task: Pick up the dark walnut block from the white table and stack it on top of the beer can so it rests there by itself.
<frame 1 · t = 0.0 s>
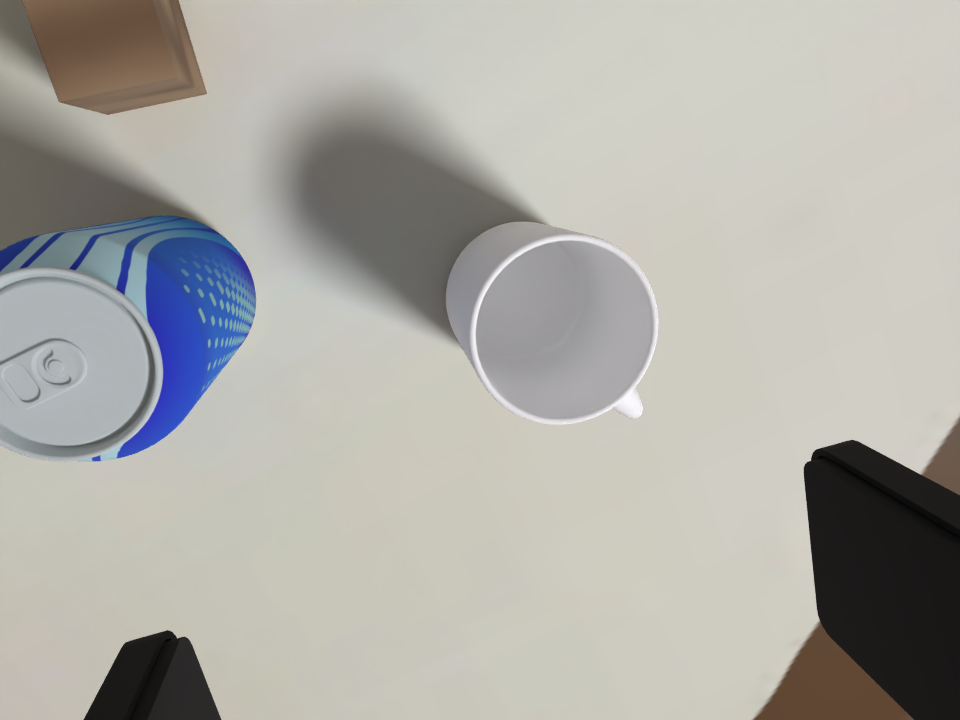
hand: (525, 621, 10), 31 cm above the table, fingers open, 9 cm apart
walnut block: (141, 52, 35), on the table
mug: (534, 314, 42), on the table
beer can: (180, 292, 38), on the table
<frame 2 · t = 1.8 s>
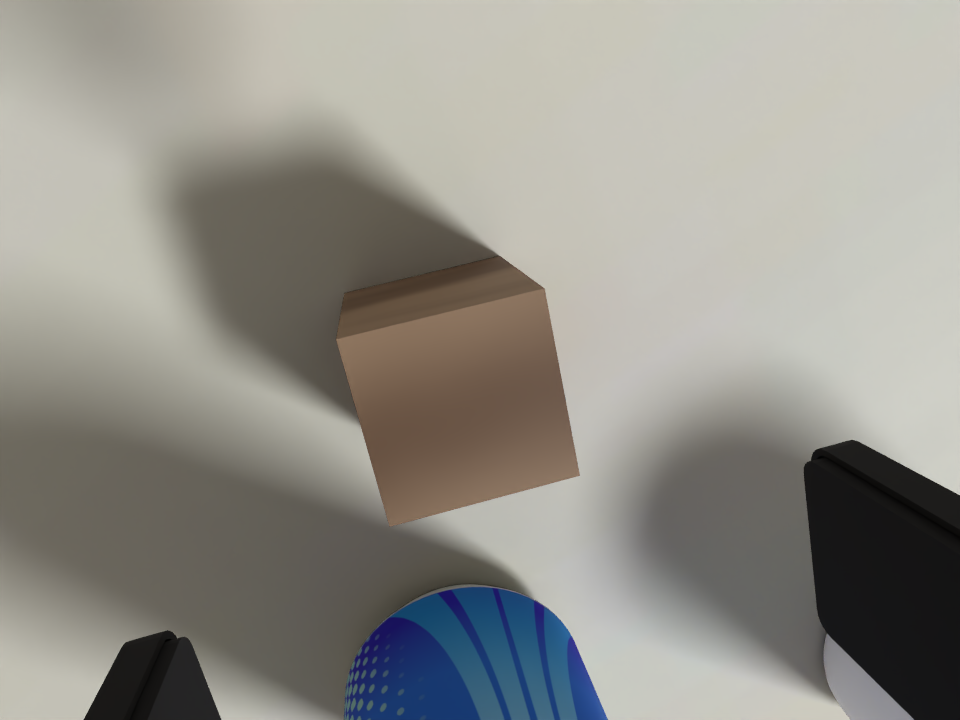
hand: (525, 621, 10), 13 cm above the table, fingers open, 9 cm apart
walnut block: (440, 348, 23), on the table
mug: (927, 650, 30), on the table
beer can: (460, 661, 26), on the table
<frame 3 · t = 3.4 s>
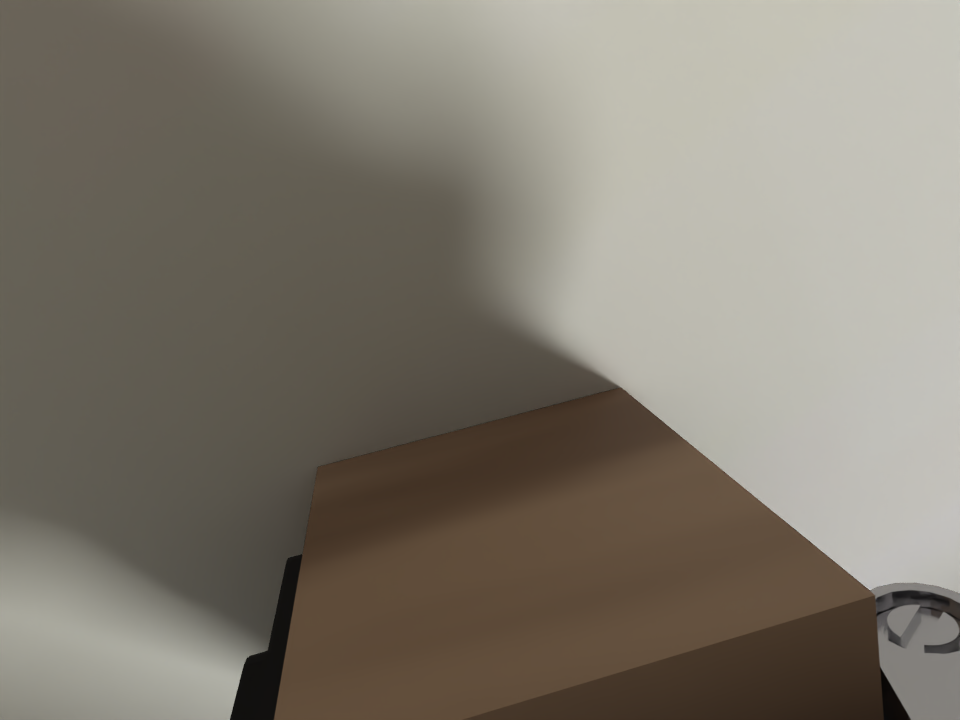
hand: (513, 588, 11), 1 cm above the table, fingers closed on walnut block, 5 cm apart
walnut block: (504, 561, 12), on the table, touching gripper
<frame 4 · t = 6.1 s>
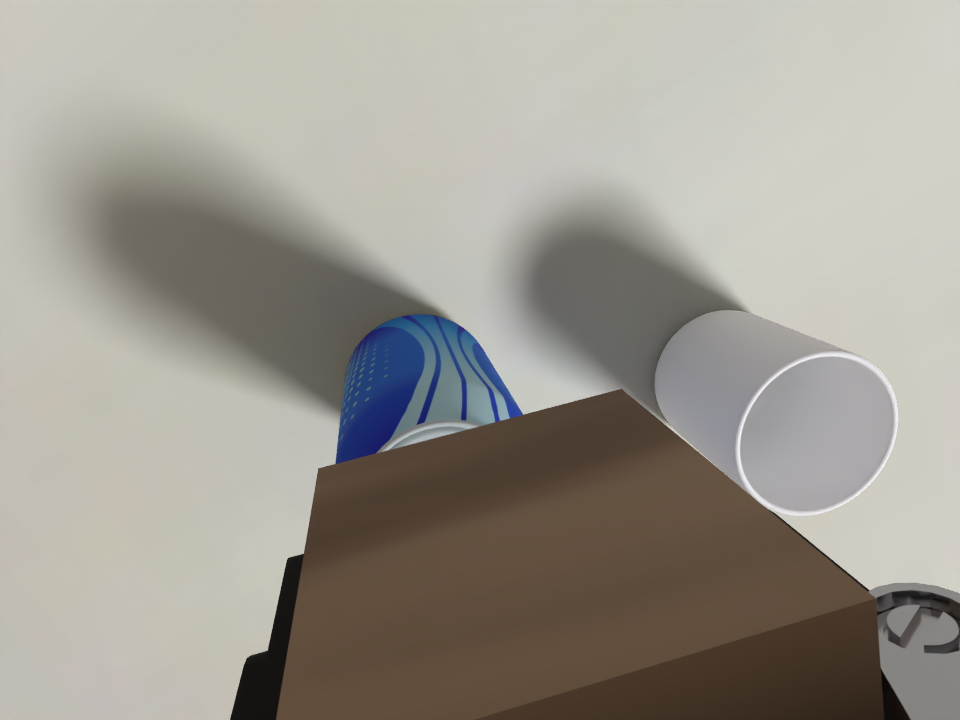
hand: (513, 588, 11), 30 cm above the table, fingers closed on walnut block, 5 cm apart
walnut block: (504, 562, 12), point 29 cm above the table, touching gripper
mug: (728, 390, 45), on the table
beer can: (417, 378, 42), on the table
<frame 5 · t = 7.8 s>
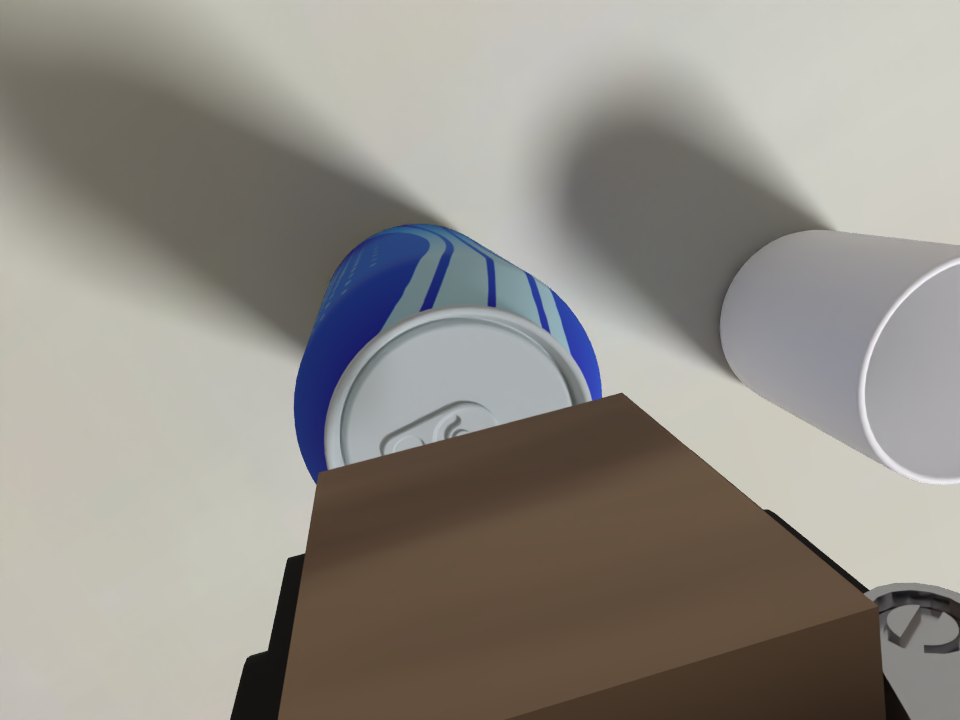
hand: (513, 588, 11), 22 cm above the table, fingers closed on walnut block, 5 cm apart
walnut block: (505, 566, 12), point 21 cm above the table, touching gripper
mug: (810, 338, 36), on the table
beer can: (417, 314, 32), on the table
when the fingers open (18 cm above the table, at t = 8.9 s): walnut block drops 1 cm, resting on beer can.
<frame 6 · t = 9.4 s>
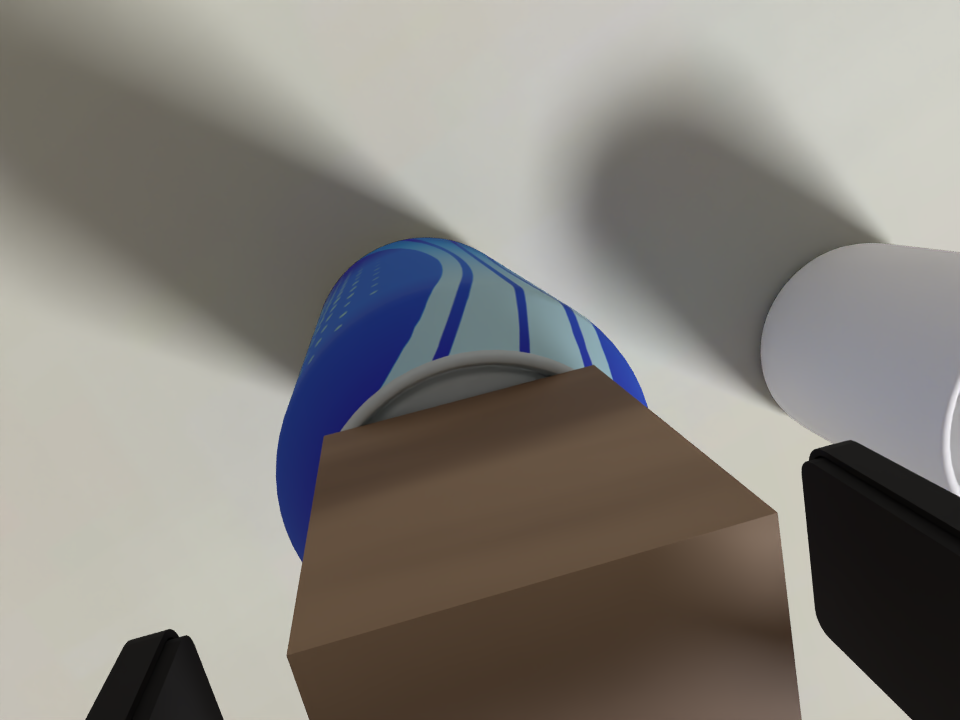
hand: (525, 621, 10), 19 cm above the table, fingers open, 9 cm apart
walnut block: (491, 521, 13), point 16 cm above the table, touching beer can
mug: (859, 362, 32), on the table
beer can: (423, 338, 29), on the table, touching walnut block
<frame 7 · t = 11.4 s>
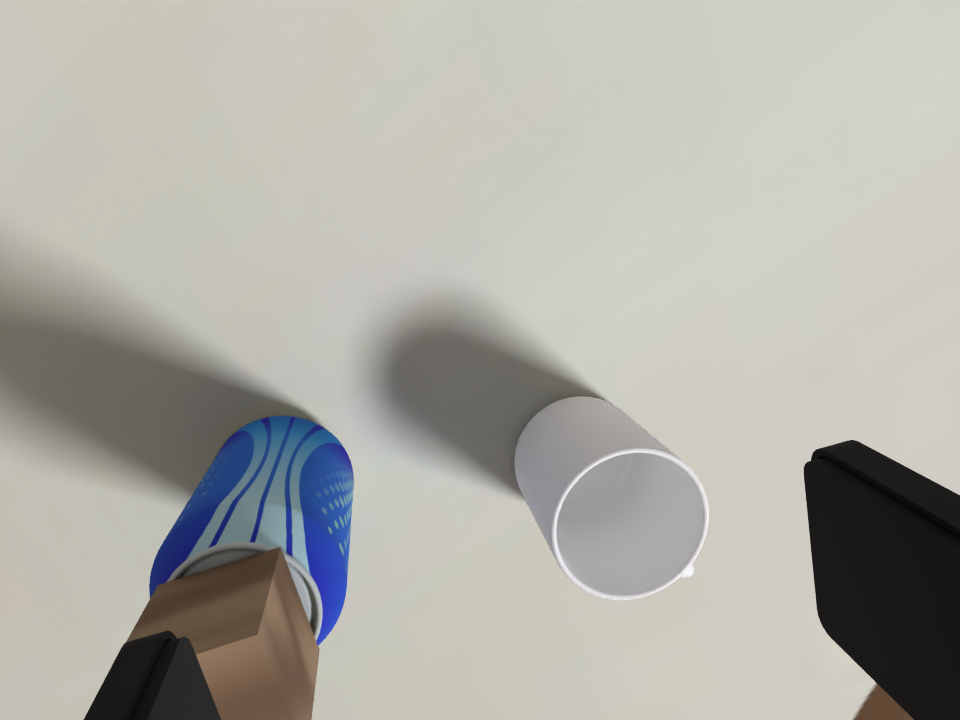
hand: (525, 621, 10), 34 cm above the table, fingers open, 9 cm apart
walnut block: (241, 618, 29), point 16 cm above the table, touching beer can
mug: (590, 469, 48), on the table
beer can: (286, 472, 45), on the table, touching walnut block
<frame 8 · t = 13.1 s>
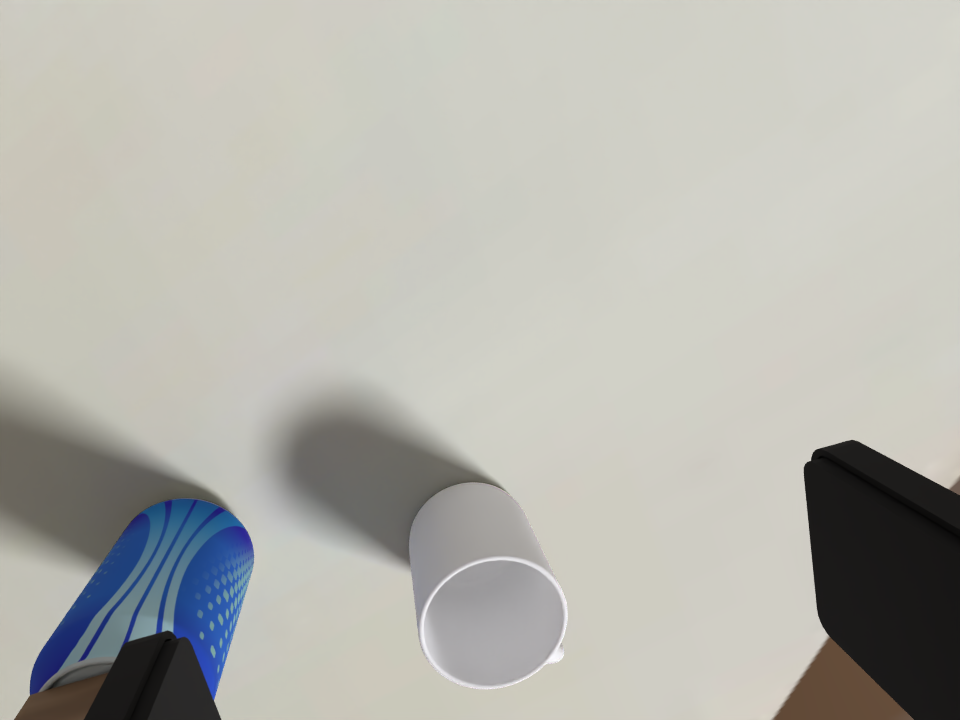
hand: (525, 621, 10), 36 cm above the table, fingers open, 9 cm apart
mug: (484, 547, 51), on the table
beer can: (192, 546, 47), on the table, touching walnut block
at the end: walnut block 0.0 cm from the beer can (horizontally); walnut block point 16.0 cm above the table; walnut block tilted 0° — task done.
